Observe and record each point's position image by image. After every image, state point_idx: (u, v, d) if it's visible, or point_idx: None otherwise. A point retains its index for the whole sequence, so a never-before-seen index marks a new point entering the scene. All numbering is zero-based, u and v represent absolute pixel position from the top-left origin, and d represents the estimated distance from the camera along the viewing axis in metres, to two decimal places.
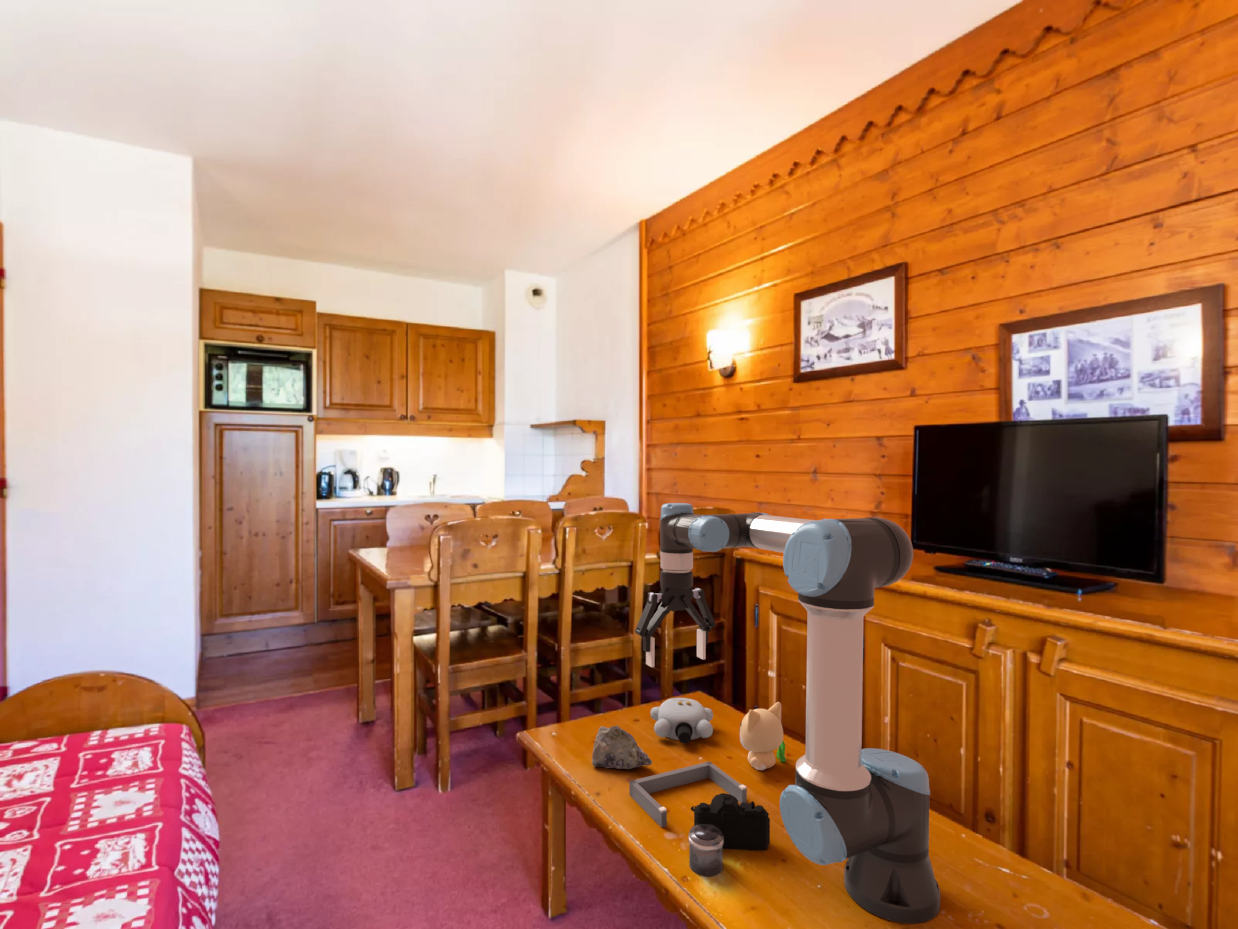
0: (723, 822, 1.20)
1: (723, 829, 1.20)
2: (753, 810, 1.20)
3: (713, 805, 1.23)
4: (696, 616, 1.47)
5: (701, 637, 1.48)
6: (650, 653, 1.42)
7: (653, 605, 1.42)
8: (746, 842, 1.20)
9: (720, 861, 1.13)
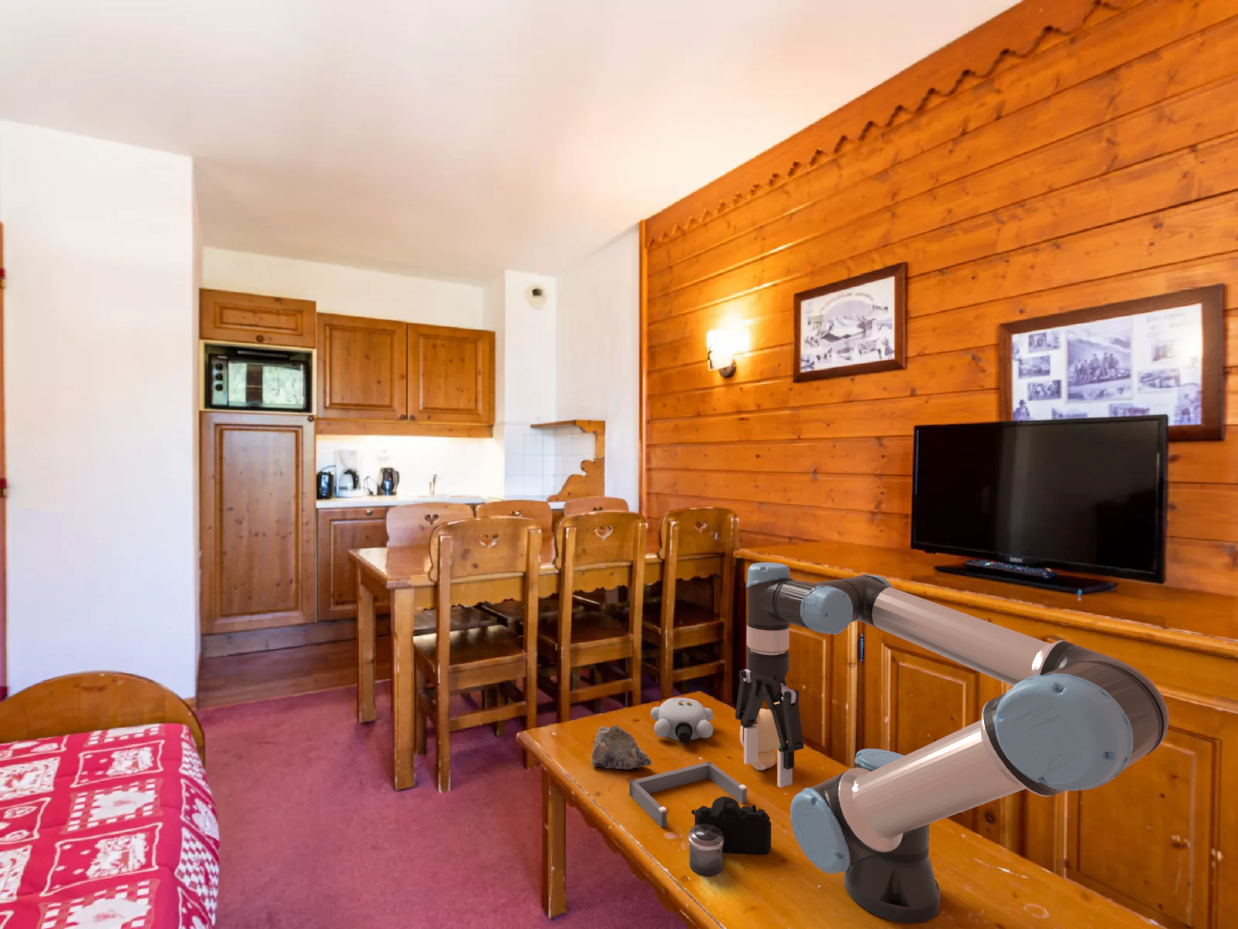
0: (724, 826, 1.19)
1: (724, 833, 1.19)
2: (754, 814, 1.19)
3: (714, 808, 1.22)
4: (775, 721, 1.11)
5: None
6: None
7: (741, 684, 1.19)
8: (747, 846, 1.19)
9: (720, 861, 1.13)
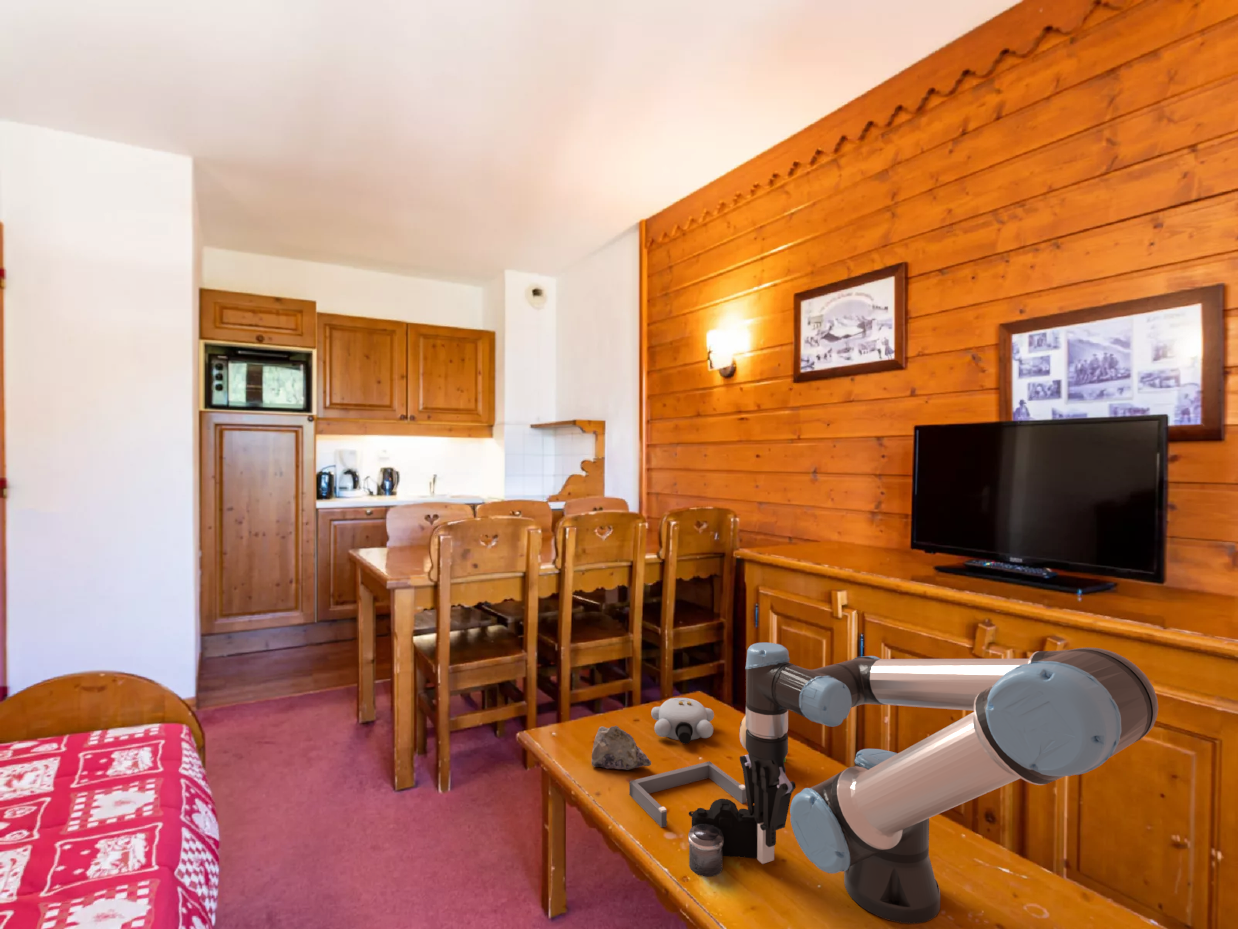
0: (721, 828, 1.18)
1: None
2: (751, 817, 1.18)
3: (711, 810, 1.21)
4: (764, 801, 1.13)
5: None
6: None
7: (744, 771, 1.18)
8: (744, 849, 1.18)
9: (720, 861, 1.13)
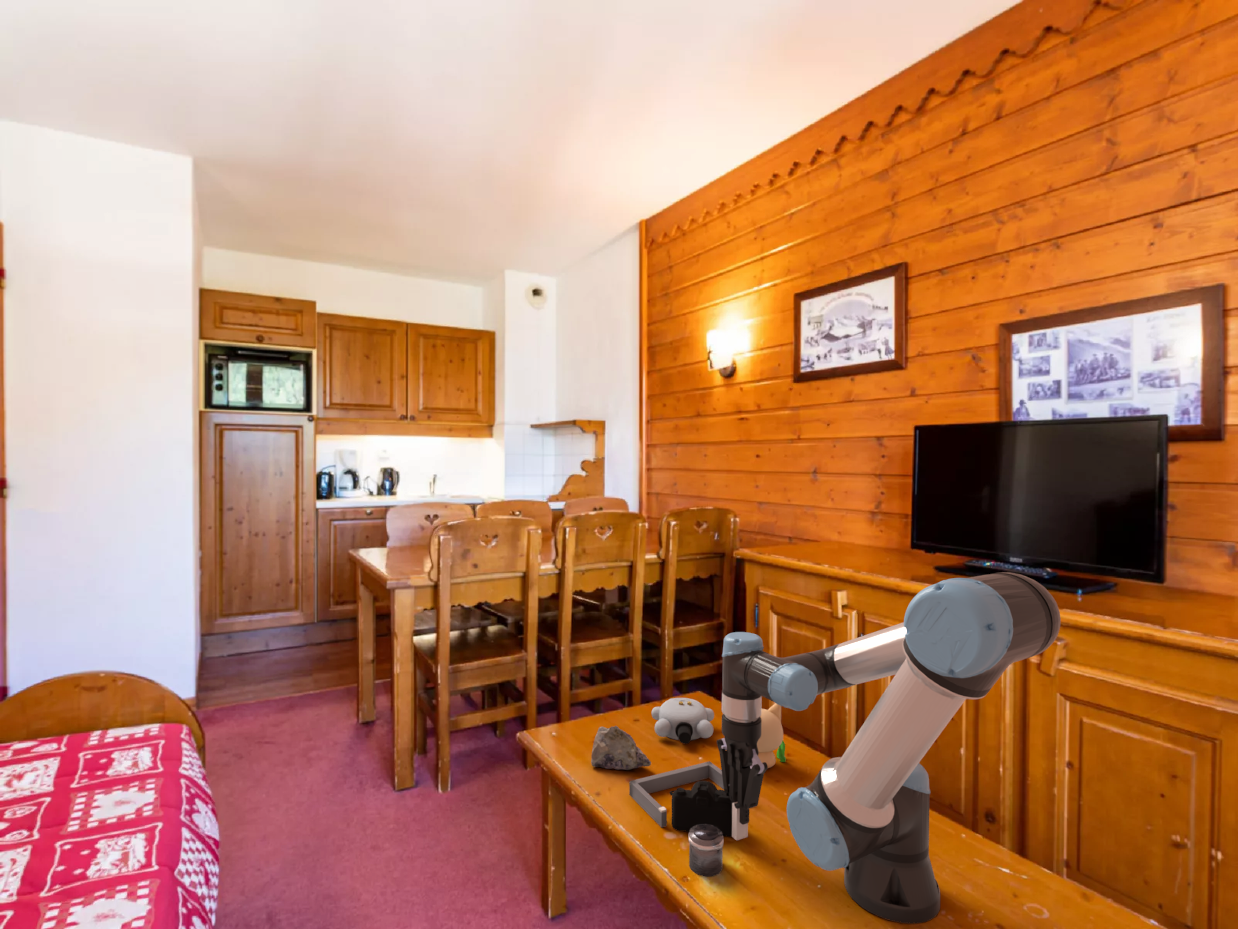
0: (698, 807, 1.25)
1: (698, 814, 1.25)
2: (727, 797, 1.24)
3: (690, 791, 1.28)
4: (738, 781, 1.20)
5: None
6: None
7: (720, 753, 1.25)
8: (719, 827, 1.24)
9: (720, 861, 1.13)
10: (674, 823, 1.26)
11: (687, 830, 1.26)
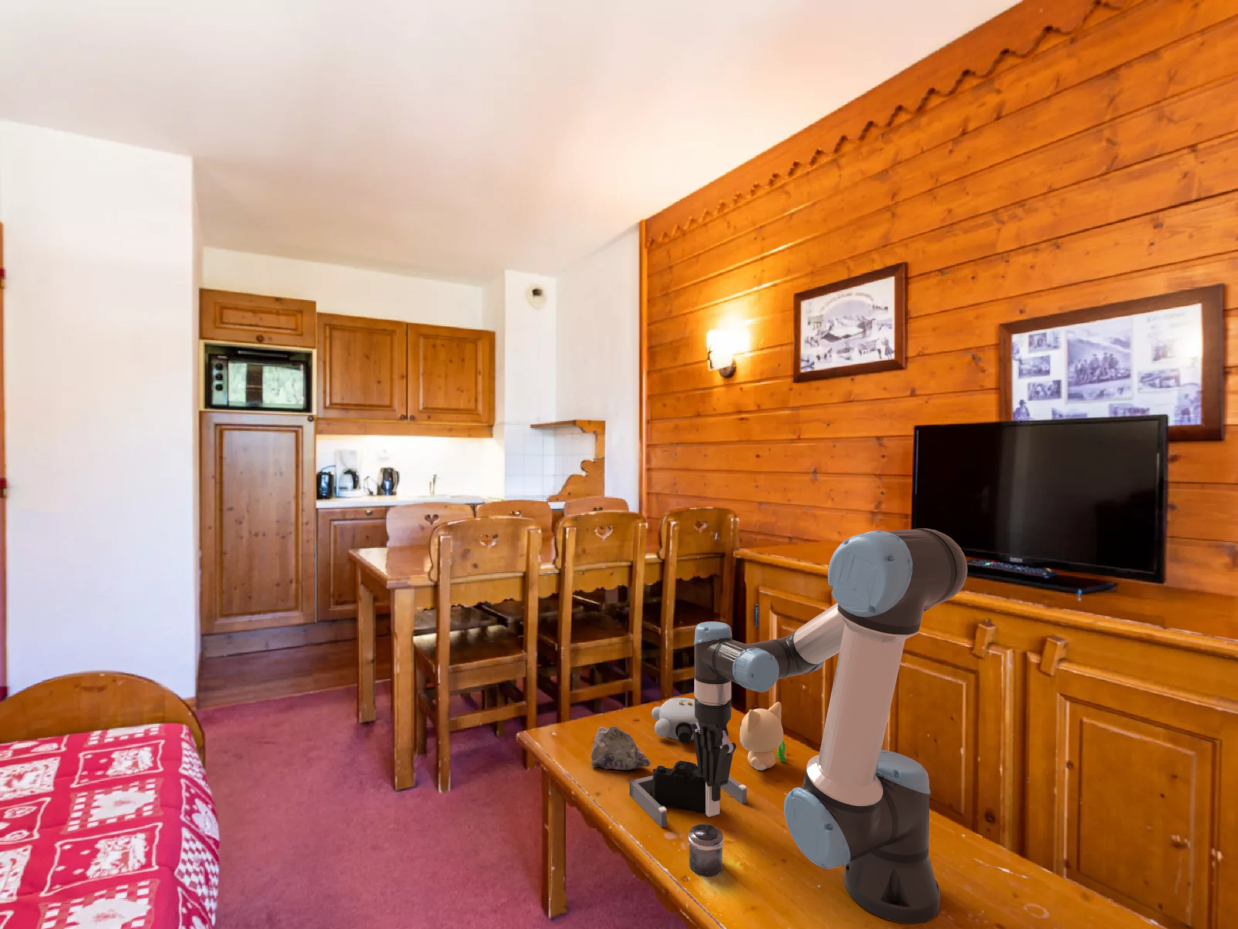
0: (675, 784, 1.34)
1: (675, 790, 1.34)
2: (702, 776, 1.32)
3: (671, 769, 1.37)
4: (710, 761, 1.28)
5: None
6: None
7: (694, 736, 1.33)
8: (695, 804, 1.33)
9: (720, 861, 1.13)
10: (654, 798, 1.36)
11: (666, 805, 1.35)
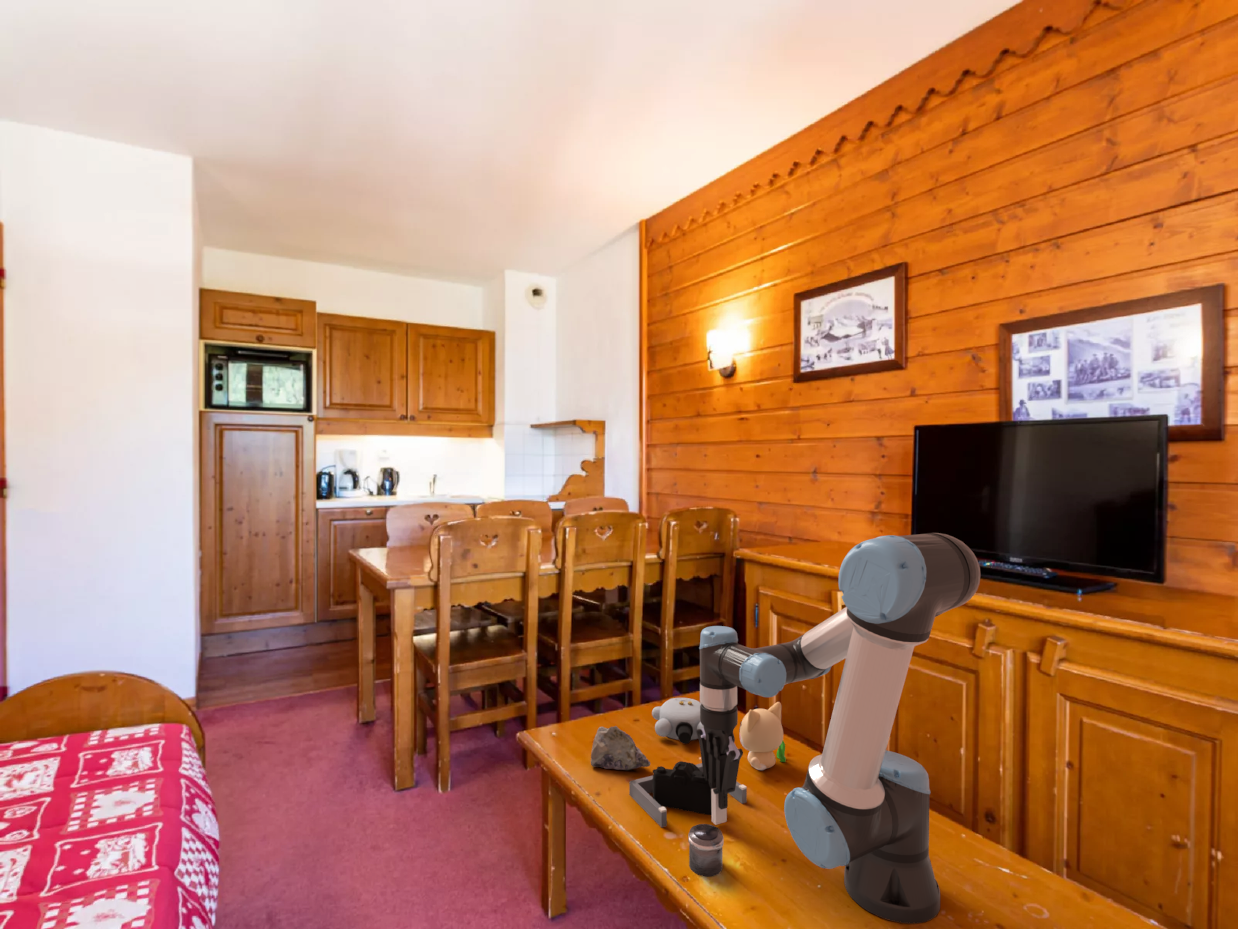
0: (675, 785, 1.34)
1: (675, 791, 1.34)
2: (702, 777, 1.32)
3: (671, 770, 1.37)
4: (716, 767, 1.26)
5: None
6: None
7: (700, 742, 1.32)
8: (695, 805, 1.33)
9: (720, 861, 1.13)
10: (654, 799, 1.36)
11: (666, 806, 1.35)
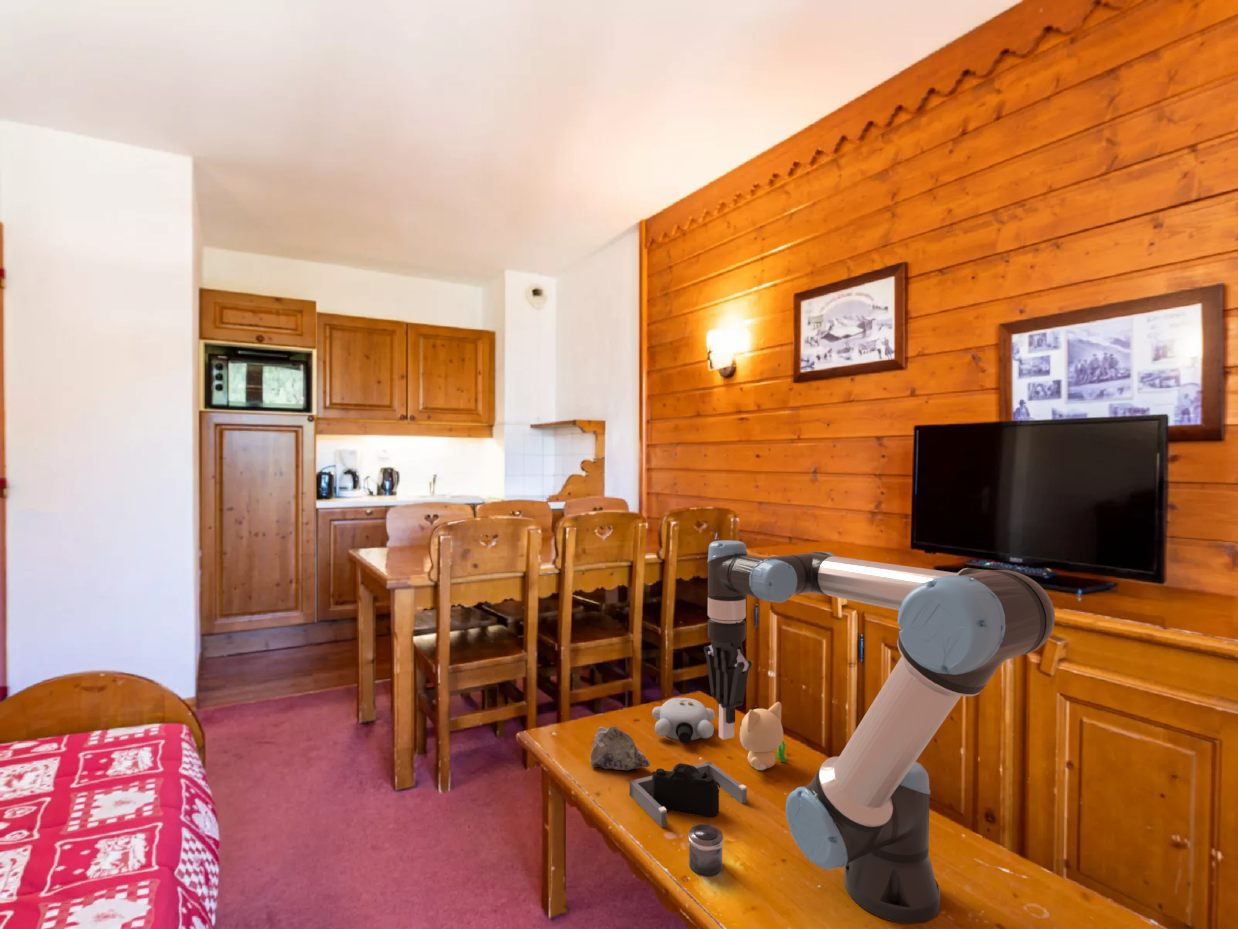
0: (675, 787, 1.33)
1: (675, 793, 1.33)
2: (701, 779, 1.31)
3: (670, 772, 1.36)
4: (724, 681, 1.24)
5: None
6: None
7: (707, 659, 1.29)
8: (694, 807, 1.32)
9: (720, 861, 1.13)
10: None
11: None
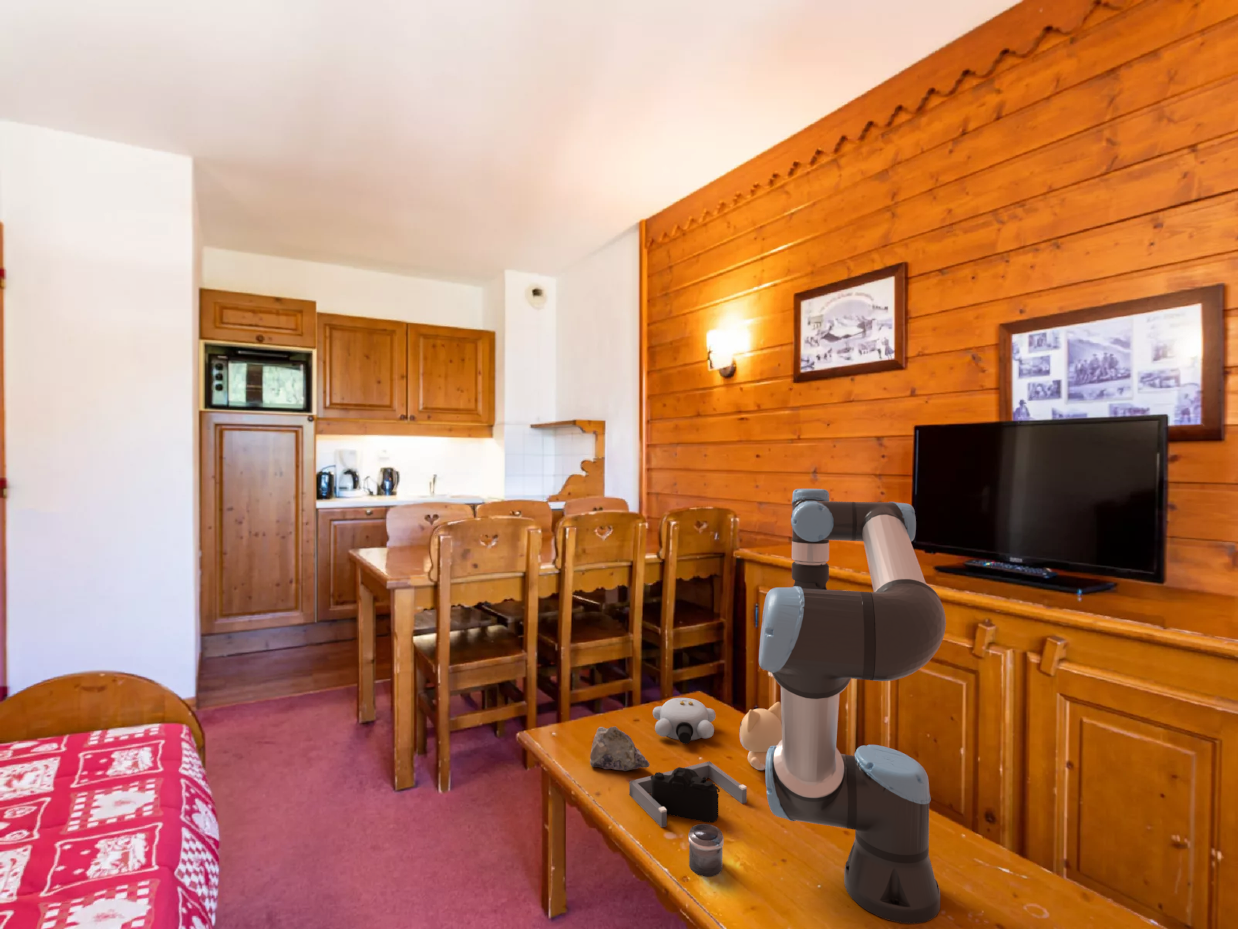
0: (674, 791, 1.31)
1: (674, 798, 1.31)
2: (701, 784, 1.30)
3: (669, 776, 1.35)
4: None
5: None
6: None
7: None
8: (694, 812, 1.30)
9: (720, 861, 1.13)
10: None
11: None
